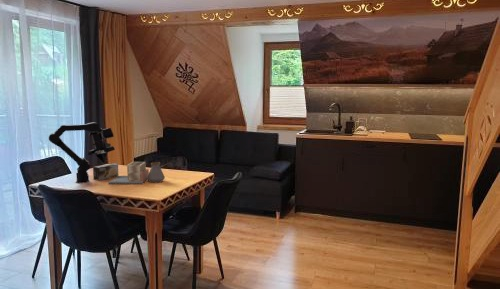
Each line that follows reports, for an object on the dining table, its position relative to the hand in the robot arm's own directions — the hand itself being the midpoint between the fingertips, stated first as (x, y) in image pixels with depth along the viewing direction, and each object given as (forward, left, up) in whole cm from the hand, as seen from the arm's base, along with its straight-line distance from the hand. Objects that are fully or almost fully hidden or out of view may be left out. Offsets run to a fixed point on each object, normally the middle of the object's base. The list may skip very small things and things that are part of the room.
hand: (104, 162), depth 256 cm
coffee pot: (+40, -7, -12) cm, 42 cm away
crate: (+23, -3, -11) cm, 25 cm away
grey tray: (+18, -3, -12) cm, 22 cm away
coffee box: (+3, +14, -8) cm, 16 cm away
